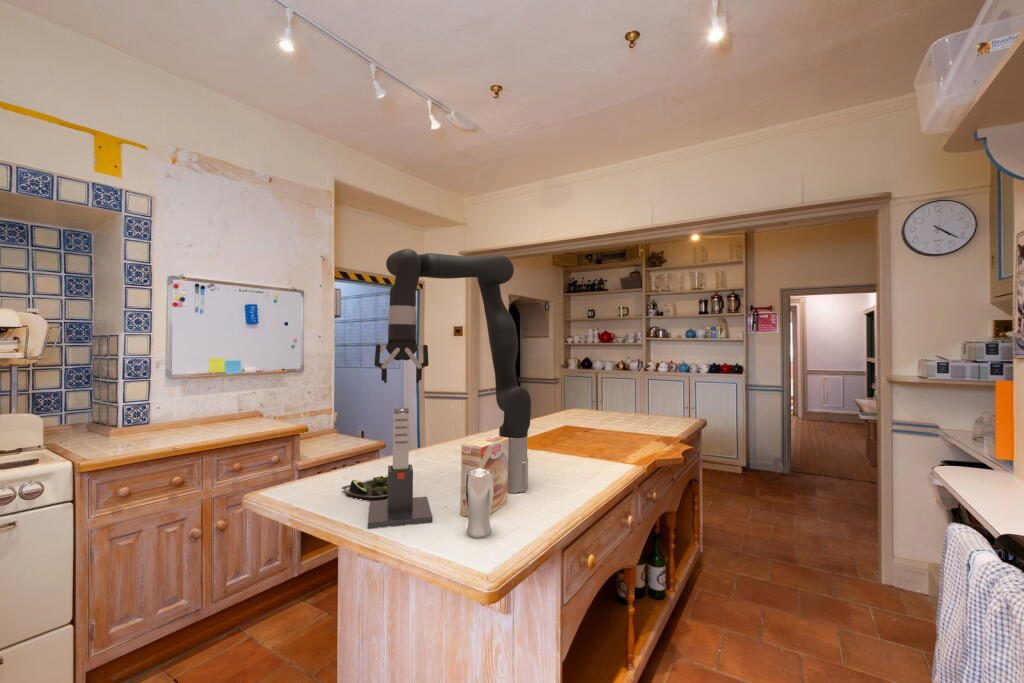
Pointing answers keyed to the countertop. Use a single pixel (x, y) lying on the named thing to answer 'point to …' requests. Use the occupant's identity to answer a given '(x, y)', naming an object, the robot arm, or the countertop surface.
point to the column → (400, 439)
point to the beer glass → (479, 502)
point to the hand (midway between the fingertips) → (401, 382)
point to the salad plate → (368, 489)
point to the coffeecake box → (486, 467)
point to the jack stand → (399, 503)
